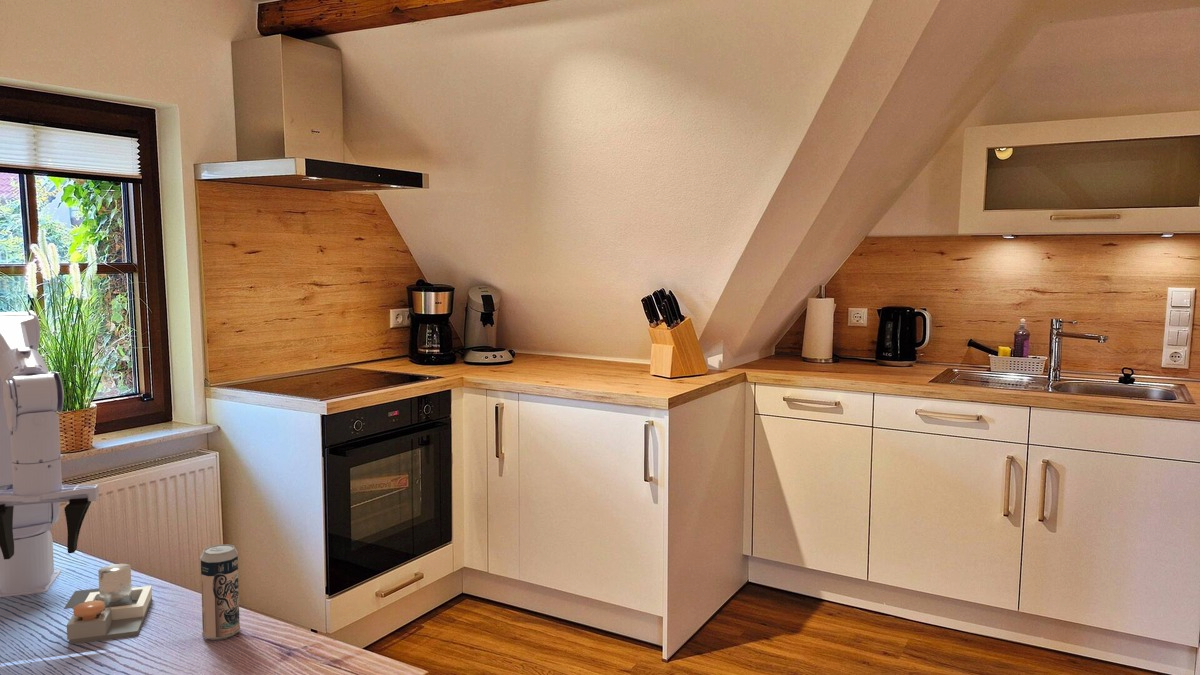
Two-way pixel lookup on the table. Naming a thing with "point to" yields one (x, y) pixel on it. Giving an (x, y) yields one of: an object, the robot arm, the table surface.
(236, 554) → the beer can
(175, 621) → the table surface
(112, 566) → the billet
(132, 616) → the station
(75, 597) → the mat
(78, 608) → the button
